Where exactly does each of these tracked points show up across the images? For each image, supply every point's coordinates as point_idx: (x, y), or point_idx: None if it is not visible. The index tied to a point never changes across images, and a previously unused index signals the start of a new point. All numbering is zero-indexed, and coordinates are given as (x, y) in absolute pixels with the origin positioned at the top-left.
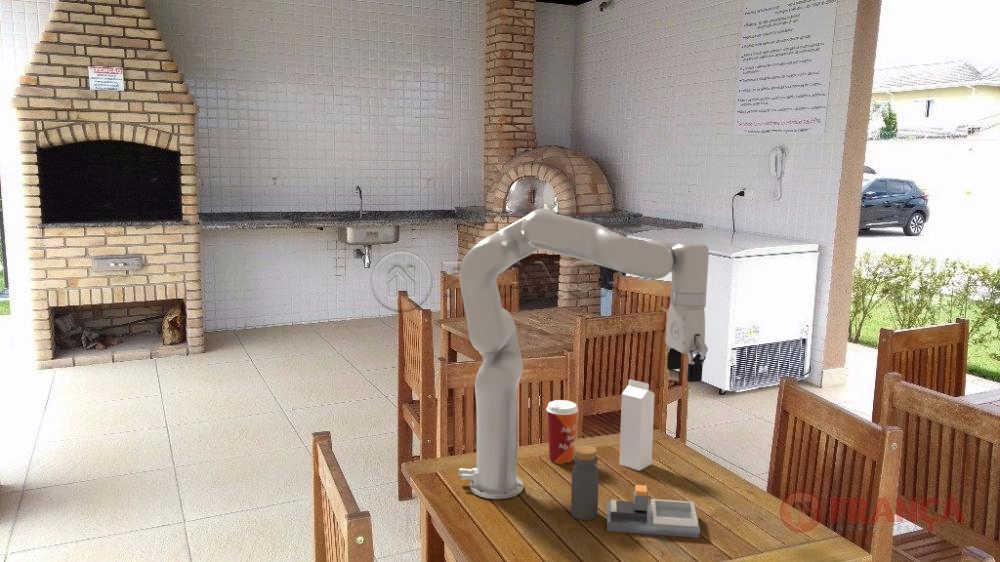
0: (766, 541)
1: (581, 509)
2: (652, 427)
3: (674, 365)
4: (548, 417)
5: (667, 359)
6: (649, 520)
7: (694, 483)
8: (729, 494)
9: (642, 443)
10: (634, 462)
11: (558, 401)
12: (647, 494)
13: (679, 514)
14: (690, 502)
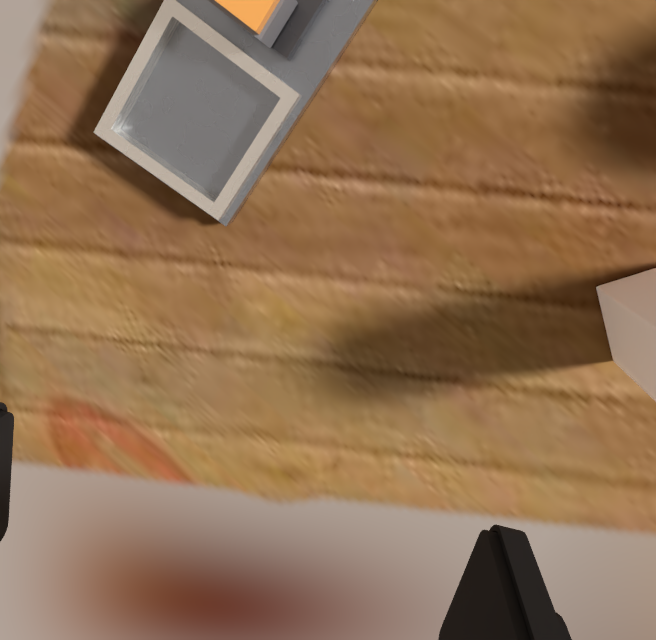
0: (32, 294)
1: None
2: None
3: (466, 615)
4: None
5: (551, 622)
6: (204, 8)
7: (416, 380)
8: (305, 414)
9: (644, 334)
10: (628, 286)
11: None
12: (219, 7)
13: (203, 142)
14: (217, 207)
